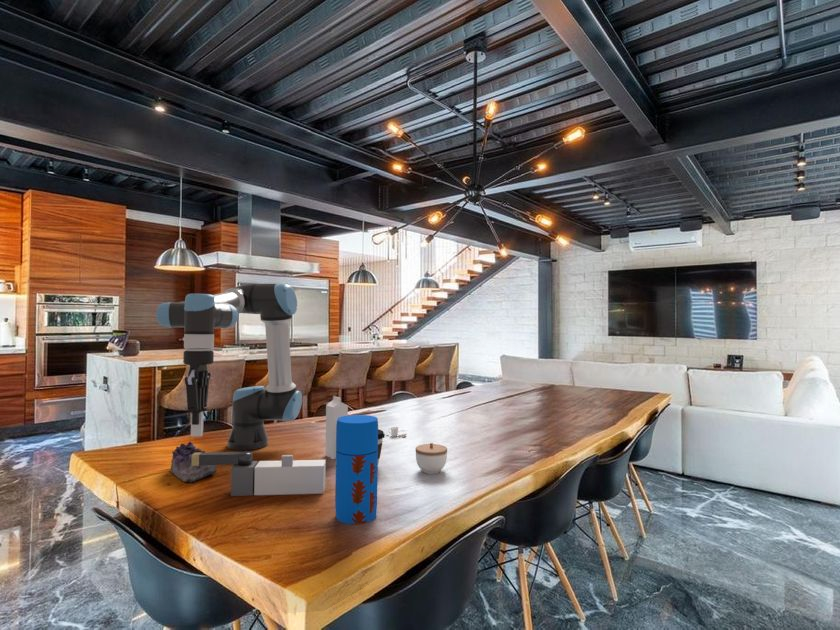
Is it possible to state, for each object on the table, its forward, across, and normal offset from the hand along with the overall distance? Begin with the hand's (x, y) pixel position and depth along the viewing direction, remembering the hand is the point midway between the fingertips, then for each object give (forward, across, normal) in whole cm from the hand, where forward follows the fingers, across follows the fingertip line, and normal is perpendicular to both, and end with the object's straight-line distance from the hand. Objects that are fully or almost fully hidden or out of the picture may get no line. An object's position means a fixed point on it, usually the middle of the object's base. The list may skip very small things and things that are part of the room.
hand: (196, 435), depth 128 cm
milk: (+18, -42, +35) cm, 57 cm away
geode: (+19, -25, -11) cm, 33 cm away
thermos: (+19, +12, +44) cm, 49 cm away
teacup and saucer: (+18, -67, +59) cm, 91 cm away
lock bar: (+10, -7, +5) cm, 13 cm away
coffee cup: (+18, -28, +47) cm, 58 cm away
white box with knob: (+18, -8, +21) cm, 29 cm away
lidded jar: (+18, -22, +68) cm, 74 cm away
